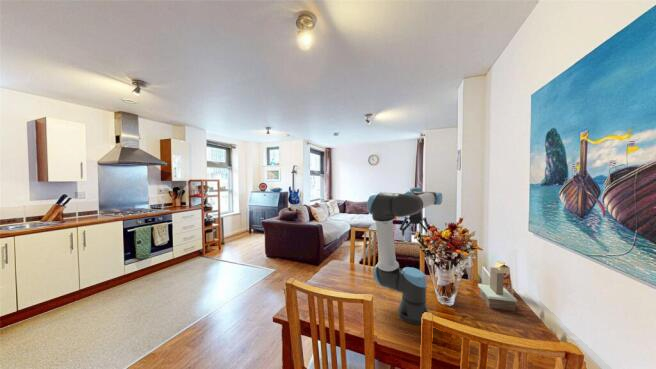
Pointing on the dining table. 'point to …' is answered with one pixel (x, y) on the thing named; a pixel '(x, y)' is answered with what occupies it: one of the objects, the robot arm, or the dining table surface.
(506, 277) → the milk carton
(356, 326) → the dining table surface
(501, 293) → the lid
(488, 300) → the walnut box
